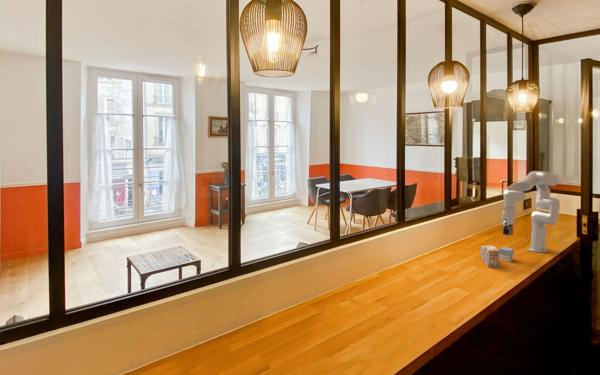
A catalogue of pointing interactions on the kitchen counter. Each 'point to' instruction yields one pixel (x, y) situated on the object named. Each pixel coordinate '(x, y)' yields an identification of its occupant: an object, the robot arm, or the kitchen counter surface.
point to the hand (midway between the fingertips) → (507, 233)
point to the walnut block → (510, 230)
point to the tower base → (506, 257)
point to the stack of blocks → (489, 256)
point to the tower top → (506, 251)
